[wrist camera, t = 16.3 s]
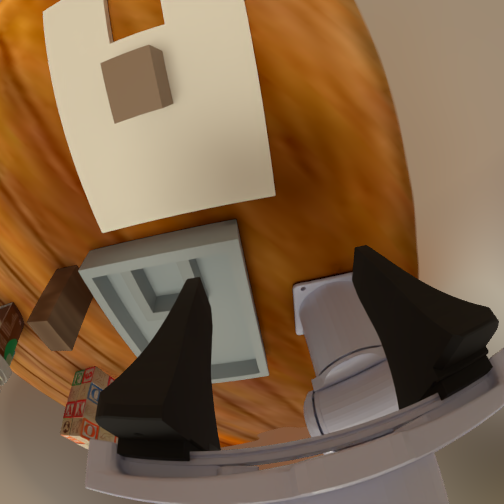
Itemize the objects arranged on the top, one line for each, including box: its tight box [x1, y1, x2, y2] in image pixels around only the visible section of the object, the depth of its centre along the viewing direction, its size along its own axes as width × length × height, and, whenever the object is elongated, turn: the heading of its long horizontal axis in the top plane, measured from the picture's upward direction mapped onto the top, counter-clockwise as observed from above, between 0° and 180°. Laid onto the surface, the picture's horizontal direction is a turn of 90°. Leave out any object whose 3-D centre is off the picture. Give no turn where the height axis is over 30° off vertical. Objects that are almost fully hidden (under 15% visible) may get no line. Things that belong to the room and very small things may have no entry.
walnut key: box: [27, 265, 93, 351], centre depth 21 cm, size 3×4×8 cm
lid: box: [43, 0, 276, 233], centre depth 13 cm, size 15×21×4 cm
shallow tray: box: [78, 219, 269, 383], centre depth 27 cm, size 14×20×3 cm
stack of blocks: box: [60, 366, 118, 449], centre depth 35 cm, size 21×6×12 cm, turn 26°
